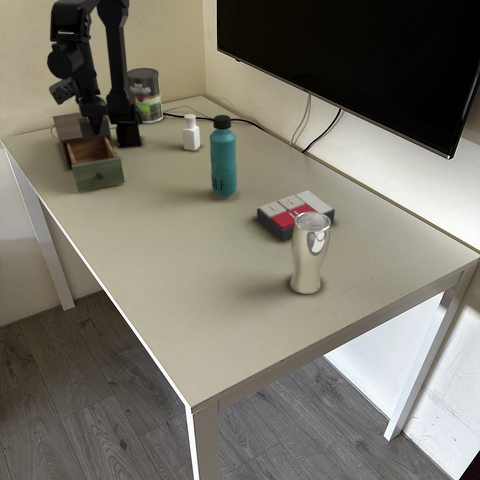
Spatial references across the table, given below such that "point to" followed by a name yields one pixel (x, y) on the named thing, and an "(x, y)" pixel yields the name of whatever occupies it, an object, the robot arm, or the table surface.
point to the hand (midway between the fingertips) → (95, 131)
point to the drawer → (94, 163)
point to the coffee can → (146, 93)
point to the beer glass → (309, 250)
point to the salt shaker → (191, 133)
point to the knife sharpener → (88, 131)
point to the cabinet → (69, 132)
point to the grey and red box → (291, 213)
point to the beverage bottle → (223, 157)
